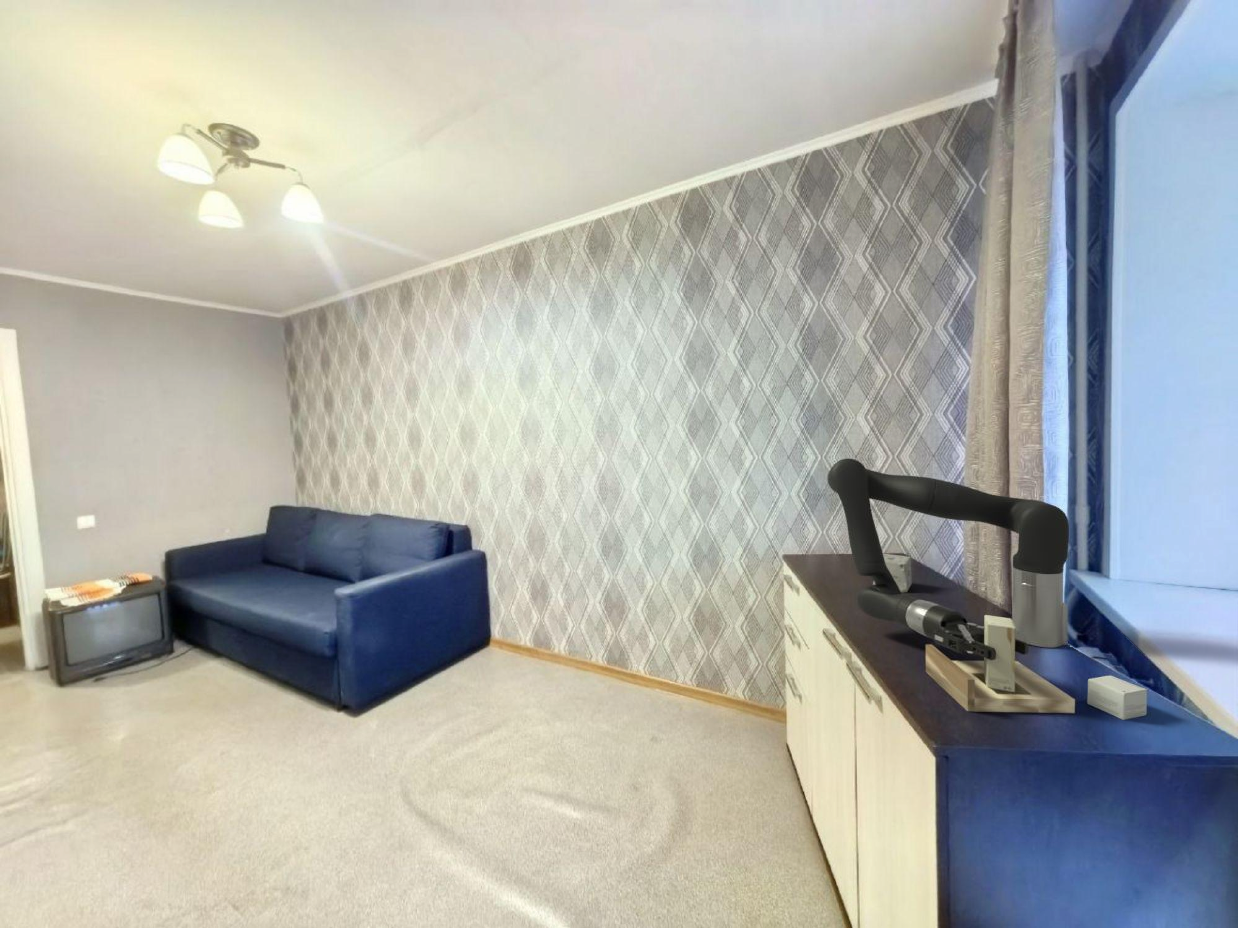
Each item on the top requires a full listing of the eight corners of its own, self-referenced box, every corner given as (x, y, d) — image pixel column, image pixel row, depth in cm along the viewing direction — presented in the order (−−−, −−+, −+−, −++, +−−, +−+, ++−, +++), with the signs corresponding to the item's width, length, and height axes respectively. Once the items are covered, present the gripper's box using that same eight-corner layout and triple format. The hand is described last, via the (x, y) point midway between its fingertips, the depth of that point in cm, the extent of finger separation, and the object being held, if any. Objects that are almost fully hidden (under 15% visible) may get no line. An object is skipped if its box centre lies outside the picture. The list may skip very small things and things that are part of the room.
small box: (1147, 715, 88) (1148, 688, 87) (1123, 721, 87) (1123, 693, 86) (1109, 699, 93) (1110, 673, 93) (1086, 703, 92) (1086, 678, 92)
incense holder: (871, 588, 161) (871, 557, 160) (879, 582, 167) (878, 551, 166) (905, 594, 154) (905, 561, 153) (912, 587, 160) (912, 555, 159)
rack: (1016, 672, 104) (1017, 644, 104) (1074, 712, 89) (1075, 680, 89) (925, 671, 106) (925, 644, 106) (967, 711, 91) (967, 679, 91)
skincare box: (1015, 693, 92) (1016, 628, 91) (986, 687, 94) (987, 624, 93) (1010, 678, 97) (1011, 617, 97) (983, 673, 100) (984, 613, 99)
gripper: (907, 608, 107) (980, 637, 91) (961, 601, 111) (1040, 627, 95) (908, 642, 108) (980, 677, 92) (961, 634, 111) (1040, 666, 95)
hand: (1010, 652), depth 93 cm, fingers closed on skincare box, 7 cm apart
